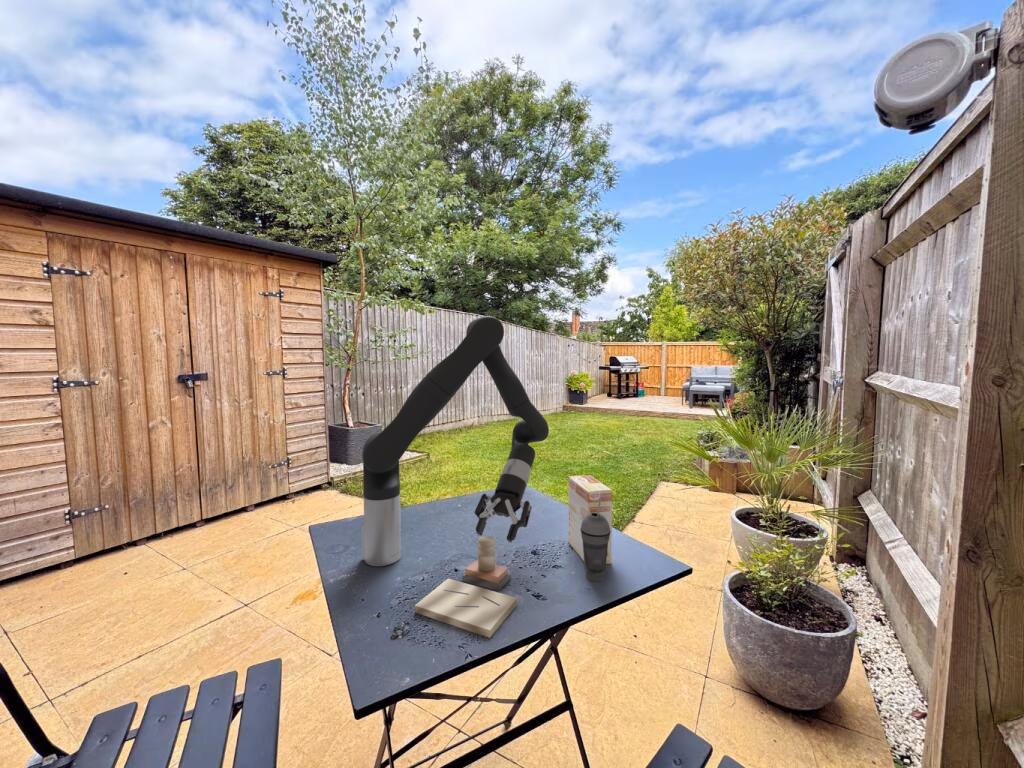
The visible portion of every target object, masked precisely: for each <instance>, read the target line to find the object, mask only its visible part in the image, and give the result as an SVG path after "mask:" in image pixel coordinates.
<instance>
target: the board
mask: <svg viewBox="0 0 1024 768" xmlns="http://www.w3.org/2000/svg"><path fill="white" fill-rule="evenodd" d="M517 605H518V597H517V596H511V595H508V594H505V593H501V592H499V591H495V590H494V591H493V590H492V589H491V590H490V589H488V588H485V587H481V586H478V585H474V584H473V585H472V584H471V583H467V582H464V581H459V580H454V579H452V578H447V579H446V580H444V581H443V582H442V583H441V584H439V585H438V586H437V587H436V588H435V589H433V590H432V591H431V592H429V594H428V593H427V595H426V596H424V597H423V598H422V599H421V600H420V601H419V602H417V603H416V604H414V613H416V614H419V615H422V616H424V617H428V618H430V619H433V620H435V621H439V622H442V623H444V624H445V623H446V624H447V625H451V626H453V627H456V628H459V629H463V630H466V631H469V632H471V633H474V634H477V635H480V636H483V637H486V638H491V637H492V636H493V635H494V634H495V632H496V631H497V630H498V629H499V628H500V626H501V625H502V624H503V623H504V622H505V620H507V618H508V616H509V615H510V614H511V613H512V612H513V610H514V609H515V608H516V606H517Z"/></svg>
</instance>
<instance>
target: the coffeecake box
mask: <svg viewBox="0 0 1024 768" xmlns="http://www.w3.org/2000/svg"><path fill="white" fill-rule="evenodd" d="M599 497H601V504H600V512H599V514H601V515H603V516H604V517H605V518H606V519H607V521H608V523H609V526H610V531H611V533H610V537H609V541H608V549H607V558H606V565H608V564H612V534H613V531H612V528H613V489H611V488H610V487H608V486H607V485H605V484H604V483H602V482H601V481H599V480H598V479H597V478H595V477H593V476H592V475H591V474H589V475H588V474H585V475H583V474H582V475H568V508H567V509H568V510H567V511H568V515H567V517H568V519H567V521H568V522H567V524H568V525H567V526H568V527H567V529H568V530H567V531H568V532H567V536H568V537H567V542H568V543H569V544H570V545H571V547H572V548H573V549H574V551H575V552H576V554H577V555H578V556H579V557H580V558H581V560H582V561H583V562H584V553H583V539H582V536H581V531H580V529H581V524H582V521H583V519H584V518H585V517H586V516H587V515H589V514H591V513H597V512H598V504H599Z"/></svg>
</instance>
